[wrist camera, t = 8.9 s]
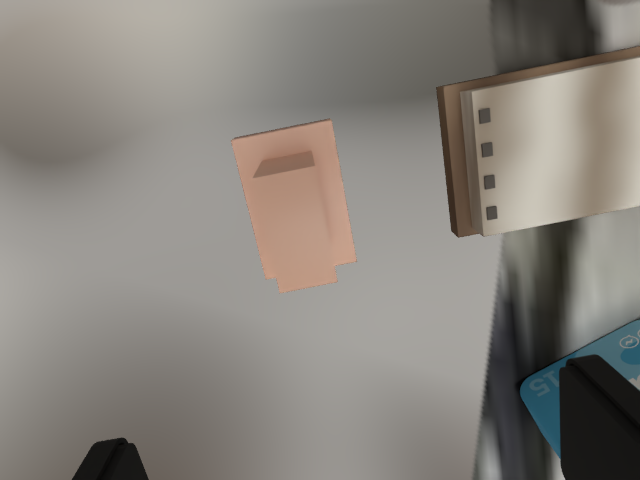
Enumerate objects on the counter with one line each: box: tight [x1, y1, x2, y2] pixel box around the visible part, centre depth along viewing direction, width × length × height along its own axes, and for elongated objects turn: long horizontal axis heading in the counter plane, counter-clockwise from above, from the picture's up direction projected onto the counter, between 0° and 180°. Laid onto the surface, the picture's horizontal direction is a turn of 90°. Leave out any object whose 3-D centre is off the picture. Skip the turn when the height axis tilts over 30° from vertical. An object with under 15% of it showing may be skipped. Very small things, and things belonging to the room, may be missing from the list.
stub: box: [231, 119, 357, 293], centre depth 26 cm, size 6×9×8 cm, turn 11°
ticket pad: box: [436, 46, 640, 237], centre depth 29 cm, size 18×10×4 cm, turn 101°
